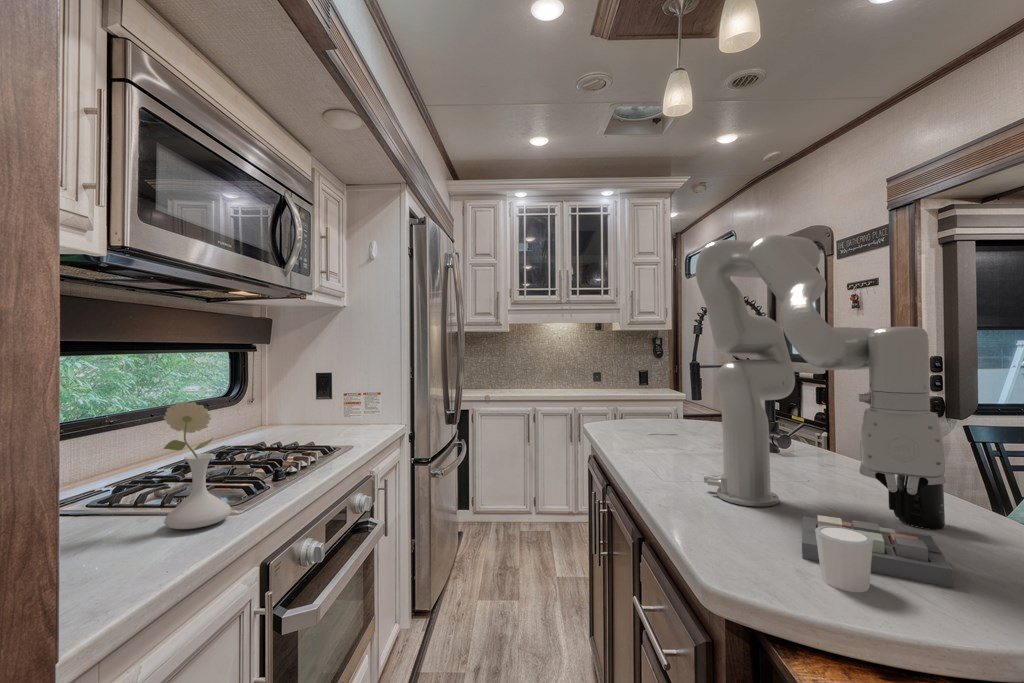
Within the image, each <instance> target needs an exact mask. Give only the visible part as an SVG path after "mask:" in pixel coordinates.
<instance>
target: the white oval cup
mask: <svg viewBox="0 0 1024 683" xmlns="http://www.w3.org/2000/svg"><path fill="white" fill-rule="evenodd" d="M815 532H816V540H817V547H818V555H819V561H818V563H819V568H820V576H821V580H822V581H823V582H824V583H825V584H827V585H829V586H830V587H833V588H835V589H837V590H841V591H845V592H850V593H865V592H868V591H869V589H870V583H871V573H872V572H871V561H872V548H873V540H872V538H871V537H870V536H868V535H867V534H865V533H862V532H860V531H857V530H853V529H849V528H845V527H838V526H821V527H817V528H816V529H815Z"/></svg>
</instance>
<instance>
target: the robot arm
mask: <svg viewBox="0 0 1024 683" xmlns="http://www.w3.org/2000/svg"><path fill="white" fill-rule="evenodd" d="M820 260H821V253H820V250H819V247H818V245H817V244H816V243H815V242H814V241H813V240H811V239H809V238H807V237H802V236H795V235H793V236H792V235H782V234H774V235H773V234H772V235H767V236H763V237H761V238H759V239H757V240H756V241H749V240H748V241H747V240H740V239H739V240H737V239H719V240H715V241H712V242H709V243H708V244H706V245H705V246H704V247H703V248H702V249H701V250H700V253H699V254H698V256H697V259H696V263H695V279H696V282H697V283H696V284H697V287H698V289H699V291H700V294H701V296H702V299H703V301H704V305H705V308H706V312H707V317H708V321H709V325H710V330H711V333H712V338H713V339H712V340H713V342H714V345H715V347H716V349H717V351H718V352H719V353H720V354H723V355H727V356H751V358H752V359H750V358H749V359H735V360H731V361H728V362H726V363H724V364H723V365H722V366H720V368H719V369H718V371H717V374H716V388H717V392H718V397H719V401H720V402H719V403H720V408H721V426H722V427H721V428H722V456H723V461H722V464H723V473H722V475H720V474H719V475H718V476H715V475H711V474H710V475H709V474H704V475H703V482H704V483H705V484H707V486H715V487H718V488H717V489H716V495H717V497H718V498H719V499H721V500H723V501H726V502H728V503H731V504H735V505H740V506H745V507H746V506H748V507H759V508H761V507H772V506H776V505H777V504H778V503H780V498H779V495H778V494H777V493H775V492H773V491H771V488H772V487H771V462H770V461H771V460H770V459H771V456H770V453H771V452H770V428H769V426H770V425H769V419H768V415H767V413H766V411H765V408H764V407H763V405H762V403H761V401H775V400H782V399H785V398H786V397H788V396H790V395H791V394H792V393H793V391H794V389H795V386H796V375H795V371H794V367H793V363H792V359H791V356H790V352H789V348H788V344H787V341H786V338H787V340H788V341H789V343H790V345H792V347H793V348H794V349H795V351H796V352H797V353H798V354H799V356H801V358H802V359H803V360H804V361H805V362H807V363H808V364H809V365H810V366H812V367H813V368H815V369H819V370H822V371H823V370H824V371H840V370H842V371H845V370H849V371H850V370H851V371H852V370H855V371H856V370H868V383H869V384H868V385H869V386H868V388H869V389H868V392H866V393H865V392H864V393H860V394H859V393H858V402H859V403H860V402H861V403H864V404H867V405H869V408H865V409H864V412H863V415H862V416H863V417H862V424H861V432H860V460H861V462H860V465H859V468H858V472H859V474H860V475H862V476H865V477H868V478H871V479H875V480H877V481H878V482H879V483H880V484H881V485H883V487H885V488H886V489H888V490H887V491H888V508H889V510H890V511H893V514H894V515H895V518H898V519H899V518H901V517H902V516H903V518H905V519H909V513H914V494H916V493H917V491H918V490H920V489H922V488H923V487H925V486H926V485H935V484H943V485H944V484H946V482H947V480H946V476H945V473H946V459H945V451H944V450H945V448H944V441H943V440H944V439H943V432H942V428H941V424H940V419H939V415H938V413H937V412H933V411H931V402H930V401H931V398H930V396H931V394H930V357H929V356H930V352H929V349H930V346H929V344H930V342H929V334H928V332H927V331H926V330H925V329H924V328H923V327H919V326H883V327H877V328H869V327H849V326H848V327H843V326H841V327H840V326H839V327H835V326H834V327H832V326H830V325H829V324H828V322H826V320H825V319H824V318H823V317H822V316H821V315H820V313H819V312H818V311H817V310H816V308H815V306H814V304H813V303H814V302H816V301H817V300H818V299H819V298H821V296H822V295H823V293H824V292H825V290H826V287H827V286H826V285H827V281H826V279H825V278H824V277H823V276H822V275H821V273H819V271H817V267H818V266H819V264H820ZM732 277H734V278H735V277H736V278H738V277H740V278H741V277H742V278H754V279H755V278H757V279H758V278H760V279H762V281H763V282H764V284H765V285H766V286H767V287H768V289H769V290H770V291H771V292H772V293H773V295H774V296H775V298H776V299H778V301H779V302H780V304H781V310H780V311H781V312H780V317H781V326H782V328H781V327H780V325H779V324H778V323H777V322H776V321H775V320H774V319H772V318H770V317H768V316H763V315H750V314H749V311H748V309H747V306H746V302H745V299H744V295H743V294H742V292H741V290H740V289H739V287H738V286H737V285H736V284H735V283H734V282H733V281H732V279H731V278H732ZM898 475H905V476H906V477H905V482H904V486H902V489H901V490H900V491H899V487H898V486H897V479H896V476H898Z"/></svg>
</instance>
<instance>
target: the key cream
mask: <svg viewBox="0 0 1024 683" xmlns="http://www.w3.org/2000/svg"><path fill="white" fill-rule="evenodd" d="M817 518H818V524H822V525H828V526H838V527H842V522H843V520H842V517H841V518H840V517H834V516H826V515H821V514H817Z"/></svg>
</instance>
